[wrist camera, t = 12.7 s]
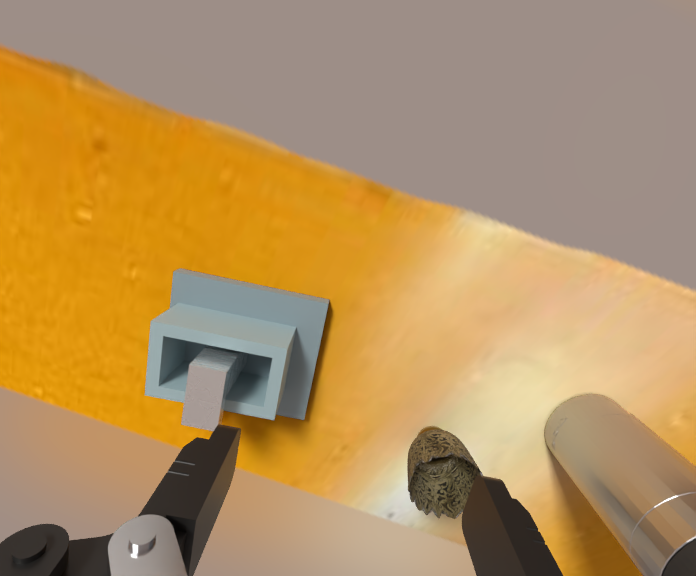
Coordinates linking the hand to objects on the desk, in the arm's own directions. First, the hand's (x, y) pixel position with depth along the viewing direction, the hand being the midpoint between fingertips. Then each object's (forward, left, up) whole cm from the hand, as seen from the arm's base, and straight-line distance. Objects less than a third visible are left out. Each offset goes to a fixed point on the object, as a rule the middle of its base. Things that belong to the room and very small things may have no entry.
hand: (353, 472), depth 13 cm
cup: (-13, +17, -28) cm, 35 cm away
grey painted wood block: (+11, +11, -27) cm, 31 cm away
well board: (+10, +10, -28) cm, 31 cm away
